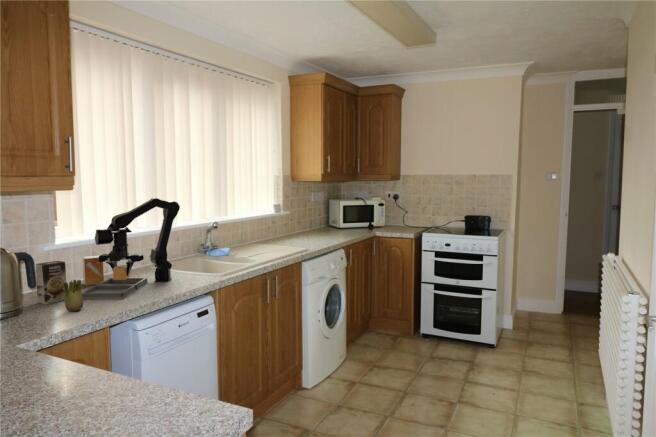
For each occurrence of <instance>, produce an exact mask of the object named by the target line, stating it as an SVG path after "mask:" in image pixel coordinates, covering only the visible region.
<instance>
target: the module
mask: <svg viewBox="0 0 656 437" xmlns="http://www.w3.org/2000/svg"><path fill="white" fill-rule="evenodd" d="M112 275H113V276H112V278H113V280H125V279H127V278H132V277H131V273H130V274H129V276H127V264H119V265H117V266H116V267H114V268H113V270H112Z"/></svg>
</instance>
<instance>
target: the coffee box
mask: <svg viewBox="0 0 656 437" xmlns="http://www.w3.org/2000/svg"><path fill="white" fill-rule="evenodd" d="M66 271H67V270H66V262H65V261H60V260H55V261H53V260H52V261H48V262H41V263H35V275H36V276H35V278H36V280H35V281H36V298H37V299H36V300H37V303H39V304H42V305H48V304H49V305H50V304H53V303H57V302H61V301H65V289H64V282H67V272H66Z"/></svg>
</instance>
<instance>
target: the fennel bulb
mask: <svg viewBox="0 0 656 437" xmlns="http://www.w3.org/2000/svg"><path fill="white" fill-rule="evenodd" d="M81 288H82V280H81V279H73V280H70V281H69V282H68V281H66V282H64V289H65V300H64V305H65V309H66V311H67V312H79V311H81V309H82V308H83V306H84V299H83V297H82V293H81V292H82V289H81Z"/></svg>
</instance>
